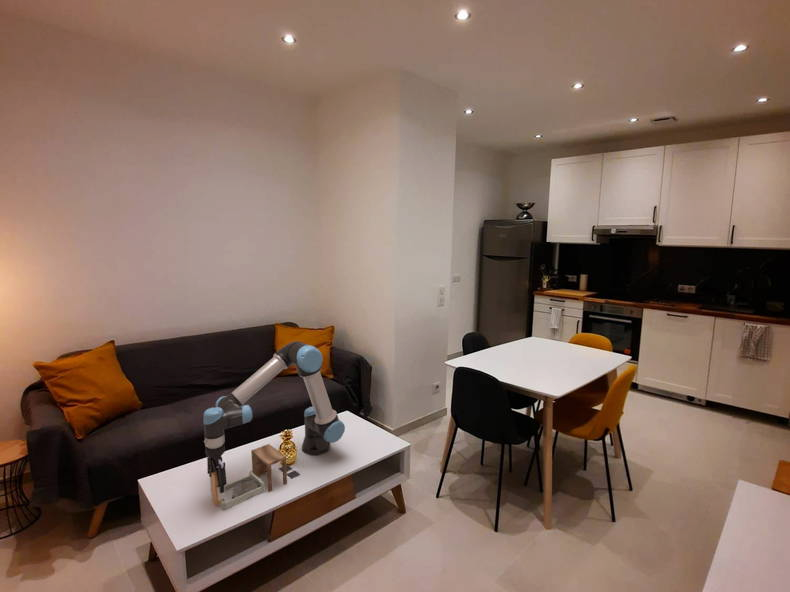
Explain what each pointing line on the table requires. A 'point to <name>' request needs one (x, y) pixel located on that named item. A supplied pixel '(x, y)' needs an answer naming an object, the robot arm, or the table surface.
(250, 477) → the sled
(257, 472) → the tunnel
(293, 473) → the pits
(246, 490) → the fossilized seashell
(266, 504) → the table surface
